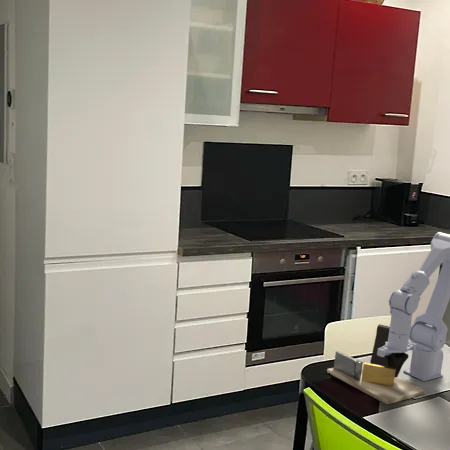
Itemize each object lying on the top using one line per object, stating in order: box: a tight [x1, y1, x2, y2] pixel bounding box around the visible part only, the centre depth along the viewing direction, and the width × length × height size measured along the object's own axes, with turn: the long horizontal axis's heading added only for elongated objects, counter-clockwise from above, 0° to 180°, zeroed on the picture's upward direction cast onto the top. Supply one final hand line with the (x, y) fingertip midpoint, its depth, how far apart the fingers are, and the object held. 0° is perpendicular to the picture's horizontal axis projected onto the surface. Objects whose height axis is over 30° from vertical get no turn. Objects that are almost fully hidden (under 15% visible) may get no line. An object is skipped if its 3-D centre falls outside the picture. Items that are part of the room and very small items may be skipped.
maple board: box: [326, 360, 426, 405], centre depth 189 cm, size 16×24×1 cm
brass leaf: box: [362, 361, 396, 386], centre depth 186 cm, size 1×9×5 cm, turn 72°
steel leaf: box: [333, 350, 363, 381], centre depth 191 cm, size 2×10×5 cm, turn 35°
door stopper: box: [369, 323, 390, 367], centre depth 205 cm, size 9×6×12 cm, turn 152°
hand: (393, 376), depth 189 cm, fingers closed
